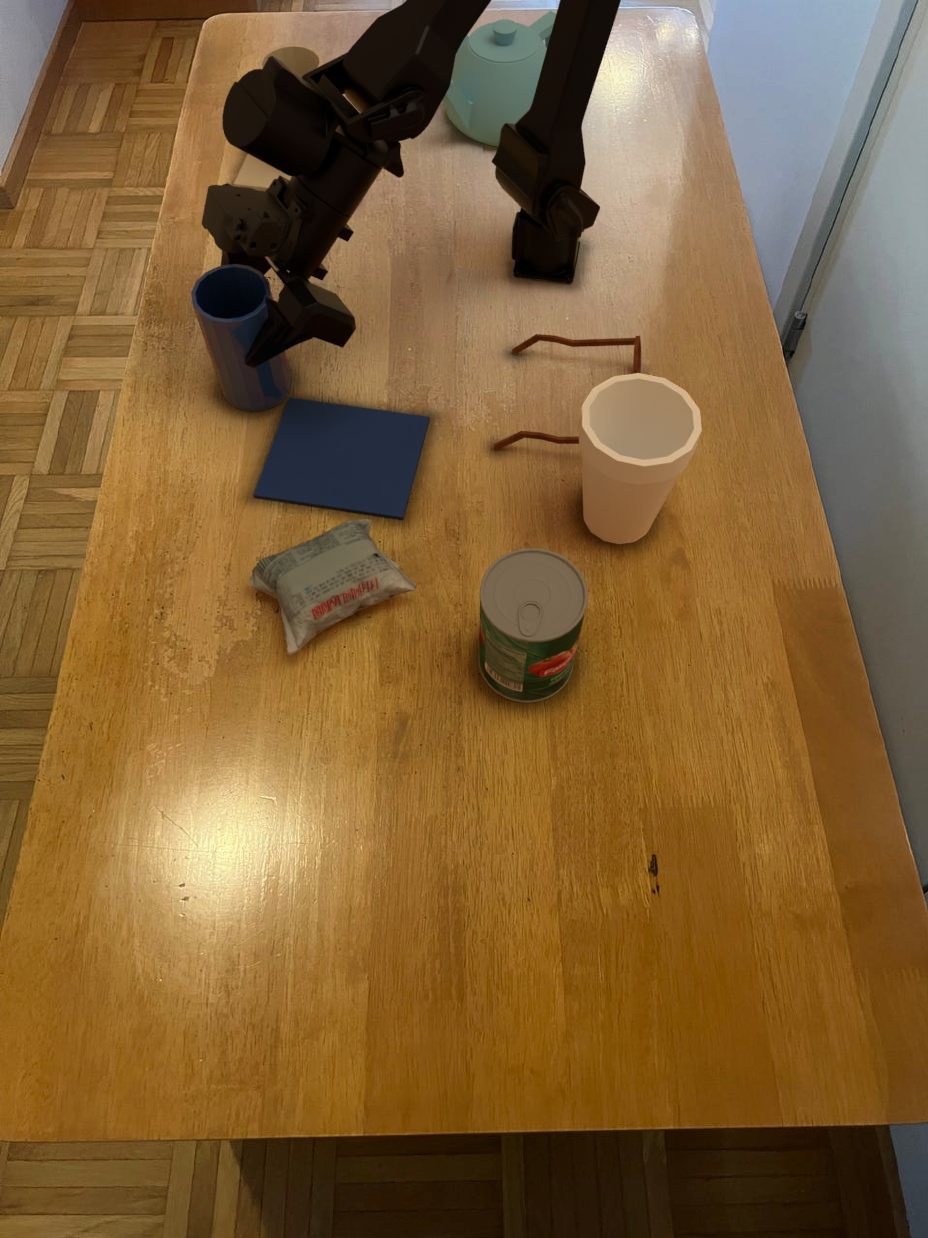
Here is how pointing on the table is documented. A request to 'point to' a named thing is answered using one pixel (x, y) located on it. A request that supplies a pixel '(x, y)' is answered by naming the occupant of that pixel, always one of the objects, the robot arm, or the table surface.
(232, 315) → the blue cup
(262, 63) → the cream cup
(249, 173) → the cream mat
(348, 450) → the blue mat
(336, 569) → the packaged food
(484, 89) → the teapot
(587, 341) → the glasses
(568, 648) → the canned tomato
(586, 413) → the foam cup
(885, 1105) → the table surface
